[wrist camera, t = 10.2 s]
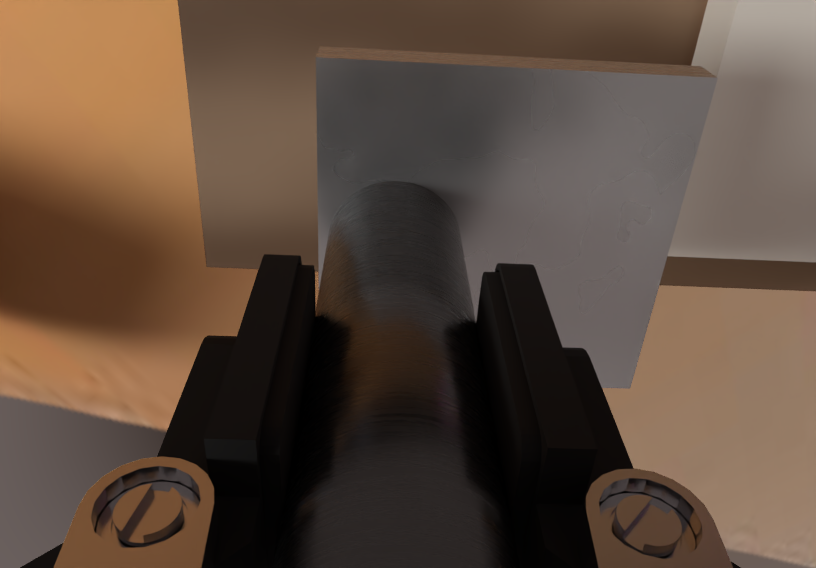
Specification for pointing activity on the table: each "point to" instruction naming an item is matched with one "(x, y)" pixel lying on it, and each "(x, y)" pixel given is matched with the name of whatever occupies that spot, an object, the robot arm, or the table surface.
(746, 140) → the tile
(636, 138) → the grey plate with peg
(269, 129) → the walnut block
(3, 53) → the table surface
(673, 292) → the table surface
